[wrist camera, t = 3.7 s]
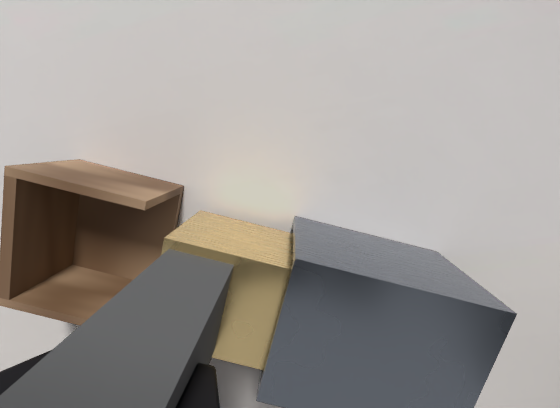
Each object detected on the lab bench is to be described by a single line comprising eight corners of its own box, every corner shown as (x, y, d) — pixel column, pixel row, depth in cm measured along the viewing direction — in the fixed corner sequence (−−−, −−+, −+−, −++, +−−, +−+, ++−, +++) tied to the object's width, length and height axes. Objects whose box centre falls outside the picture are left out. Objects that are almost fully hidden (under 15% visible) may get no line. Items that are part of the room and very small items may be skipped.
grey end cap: (437, 251, 13) (516, 313, 8) (401, 346, 14) (454, 449, 9) (294, 216, 13) (295, 258, 8) (268, 313, 14) (256, 401, 9)
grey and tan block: (411, 263, 13) (752, 619, 3) (384, 337, 13) (597, 801, 4) (200, 210, 13) (-76, 417, 3) (185, 288, 13) (-75, 641, 4)
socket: (184, 185, 13) (146, 201, 10) (165, 289, 14) (124, 336, 11) (78, 159, 13) (4, 166, 10) (67, 266, 14) (-3, 304, 11)
